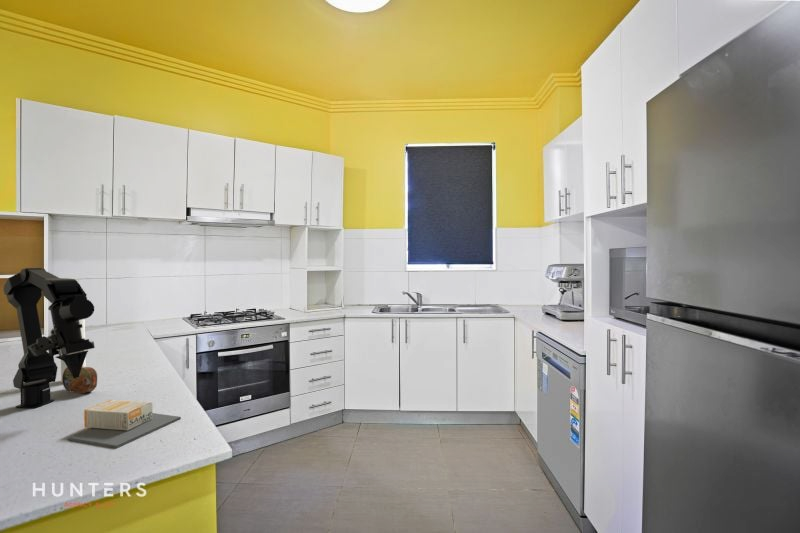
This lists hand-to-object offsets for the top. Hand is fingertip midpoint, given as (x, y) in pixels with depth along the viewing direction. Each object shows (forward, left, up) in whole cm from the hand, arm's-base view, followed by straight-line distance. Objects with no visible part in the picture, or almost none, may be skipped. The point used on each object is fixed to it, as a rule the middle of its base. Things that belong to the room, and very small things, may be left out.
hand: (76, 377), depth 113 cm
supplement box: (+11, -5, -8) cm, 14 cm away
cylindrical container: (-31, +34, -11) cm, 47 cm away
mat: (+21, -8, -11) cm, 25 cm away
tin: (-18, +22, -11) cm, 31 cm away
